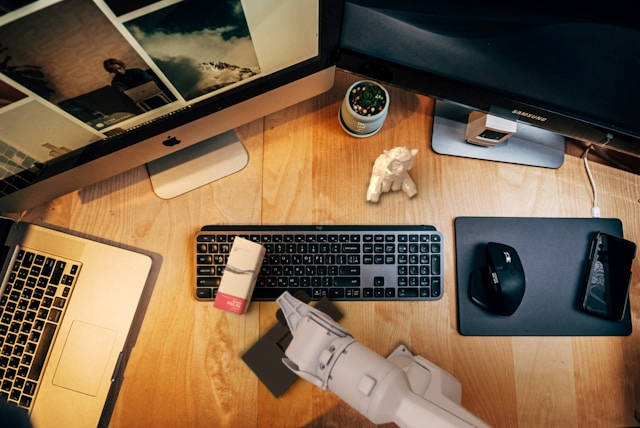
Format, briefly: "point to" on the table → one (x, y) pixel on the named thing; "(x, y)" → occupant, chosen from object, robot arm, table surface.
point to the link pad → (323, 306)
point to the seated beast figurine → (392, 173)
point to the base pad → (271, 361)
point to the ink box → (239, 276)
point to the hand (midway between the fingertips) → (315, 328)
